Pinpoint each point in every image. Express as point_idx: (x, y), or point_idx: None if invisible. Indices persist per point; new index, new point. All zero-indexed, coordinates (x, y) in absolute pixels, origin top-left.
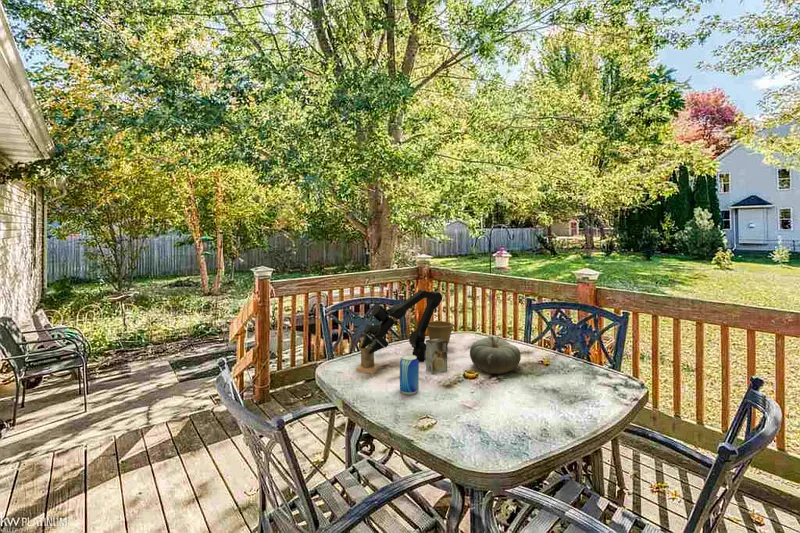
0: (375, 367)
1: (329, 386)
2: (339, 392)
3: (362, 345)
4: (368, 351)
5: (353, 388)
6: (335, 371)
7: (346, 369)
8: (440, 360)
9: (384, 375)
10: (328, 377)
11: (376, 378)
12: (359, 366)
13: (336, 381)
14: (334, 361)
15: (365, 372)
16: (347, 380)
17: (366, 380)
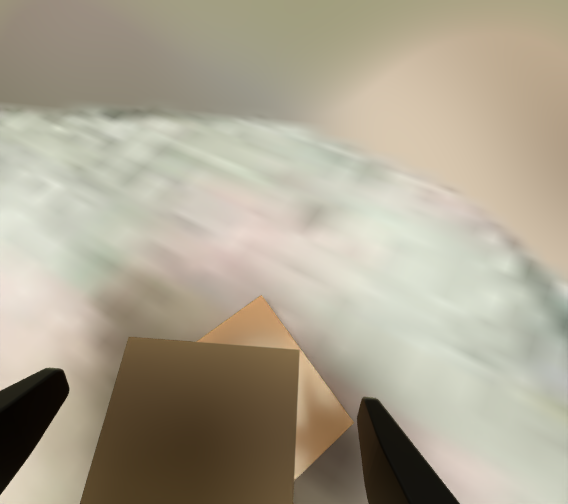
0: None
1: (173, 112)
2: (83, 117)
3: (383, 442)
4: (115, 412)
5: (64, 177)
6: (339, 202)
7: (338, 268)
8: None
9: (48, 458)
10: (277, 145)
11: (58, 360)
12: (278, 335)
13: (203, 153)
14: (524, 270)
15: None
16: (175, 197)
17: (89, 283)
